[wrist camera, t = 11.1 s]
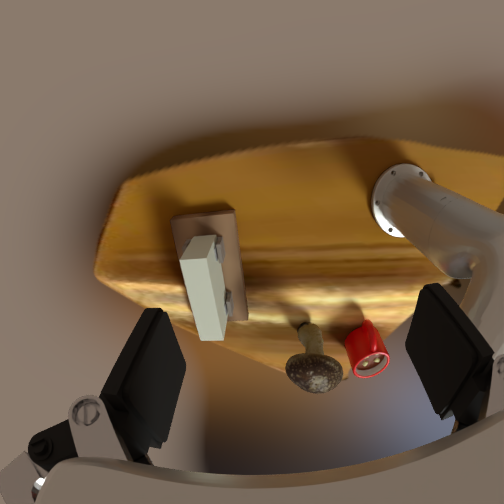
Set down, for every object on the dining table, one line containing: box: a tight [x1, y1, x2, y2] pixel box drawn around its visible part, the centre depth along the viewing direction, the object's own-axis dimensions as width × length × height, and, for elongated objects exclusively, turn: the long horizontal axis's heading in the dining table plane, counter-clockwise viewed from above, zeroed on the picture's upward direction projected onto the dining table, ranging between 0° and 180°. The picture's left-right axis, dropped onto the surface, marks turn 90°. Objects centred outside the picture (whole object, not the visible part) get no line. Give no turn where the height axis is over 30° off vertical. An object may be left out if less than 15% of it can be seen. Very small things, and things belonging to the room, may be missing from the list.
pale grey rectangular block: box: [180, 235, 228, 341], centre depth 41 cm, size 4×14×8 cm, turn 5°
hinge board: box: [170, 210, 249, 321], centre depth 44 cm, size 10×20×5 cm, turn 6°
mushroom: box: [285, 323, 343, 393], centre depth 44 cm, size 9×9×15 cm
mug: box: [345, 320, 390, 378], centre depth 48 cm, size 8×12×8 cm, turn 14°
